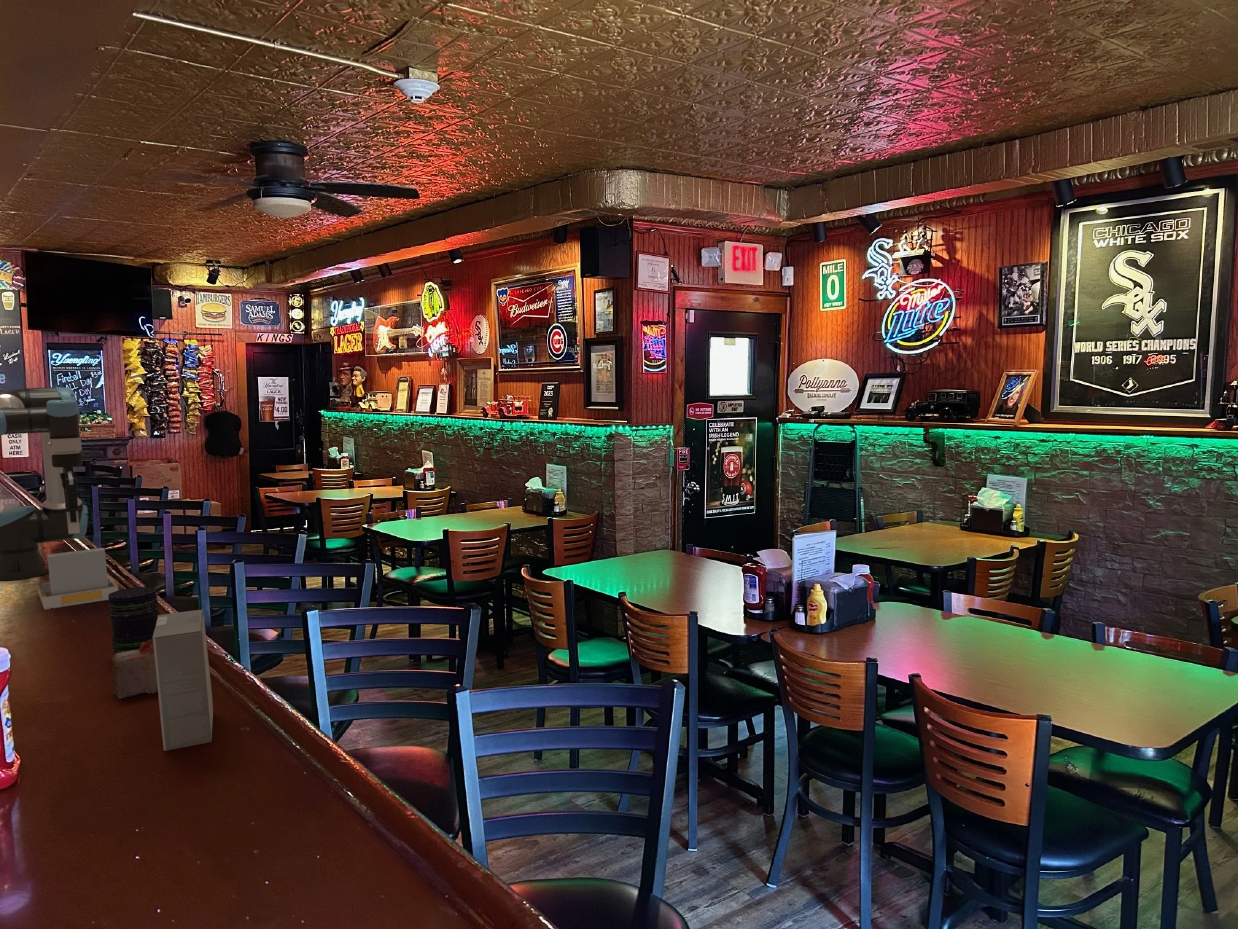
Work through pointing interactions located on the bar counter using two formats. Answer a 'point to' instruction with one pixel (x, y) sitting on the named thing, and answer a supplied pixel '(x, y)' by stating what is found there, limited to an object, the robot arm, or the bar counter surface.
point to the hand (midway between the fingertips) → (74, 533)
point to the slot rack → (74, 595)
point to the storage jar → (132, 617)
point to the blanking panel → (77, 571)
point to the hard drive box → (183, 679)
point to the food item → (135, 671)
